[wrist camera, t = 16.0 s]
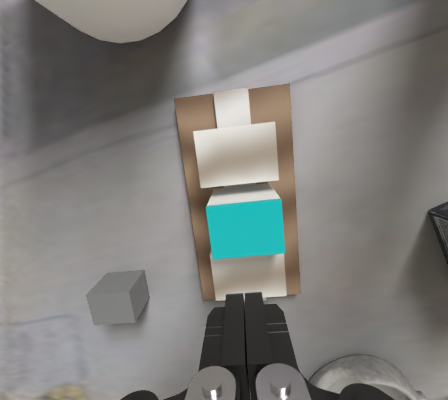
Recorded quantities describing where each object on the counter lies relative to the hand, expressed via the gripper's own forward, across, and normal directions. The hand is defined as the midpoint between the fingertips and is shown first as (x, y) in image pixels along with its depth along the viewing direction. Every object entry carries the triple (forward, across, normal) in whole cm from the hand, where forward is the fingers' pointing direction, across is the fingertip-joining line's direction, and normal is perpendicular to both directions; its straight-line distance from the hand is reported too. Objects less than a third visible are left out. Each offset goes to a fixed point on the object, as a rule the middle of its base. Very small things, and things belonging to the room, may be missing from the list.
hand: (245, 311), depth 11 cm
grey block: (+21, +16, +10) cm, 28 cm away
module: (+18, 0, 0) cm, 18 cm away
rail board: (+21, 0, 0) cm, 21 cm away
